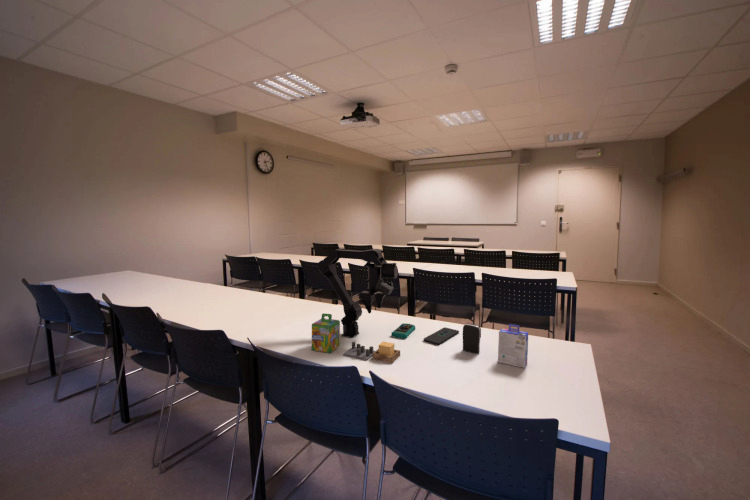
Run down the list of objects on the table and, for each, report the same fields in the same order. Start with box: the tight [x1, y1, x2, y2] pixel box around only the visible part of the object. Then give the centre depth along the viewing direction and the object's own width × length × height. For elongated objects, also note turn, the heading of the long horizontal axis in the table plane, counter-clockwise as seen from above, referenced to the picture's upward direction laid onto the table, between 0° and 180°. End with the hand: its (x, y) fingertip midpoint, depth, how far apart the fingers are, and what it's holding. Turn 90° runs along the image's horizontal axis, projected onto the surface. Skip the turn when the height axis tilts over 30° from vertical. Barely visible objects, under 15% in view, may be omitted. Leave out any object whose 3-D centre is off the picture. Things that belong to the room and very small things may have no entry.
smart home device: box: [422, 327, 460, 346], centre depth 150 cm, size 8×2×20 cm
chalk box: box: [311, 313, 341, 354], centre depth 138 cm, size 9×9×15 cm
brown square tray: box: [371, 348, 401, 364], centre depth 129 cm, size 9×8×2 cm
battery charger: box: [462, 322, 482, 355], centre depth 134 cm, size 7×4×11 cm, turn 58°
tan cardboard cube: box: [378, 341, 395, 357], centre depth 129 cm, size 5×4×5 cm
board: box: [342, 341, 376, 362], centre depth 132 cm, size 11×8×3 cm
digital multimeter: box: [391, 323, 416, 340], centre depth 156 cm, size 7×15×3 cm, turn 155°
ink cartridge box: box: [497, 323, 529, 369], centre depth 123 cm, size 10×6×14 cm, turn 58°
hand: (374, 310), depth 149 cm, fingers open, 9 cm apart
